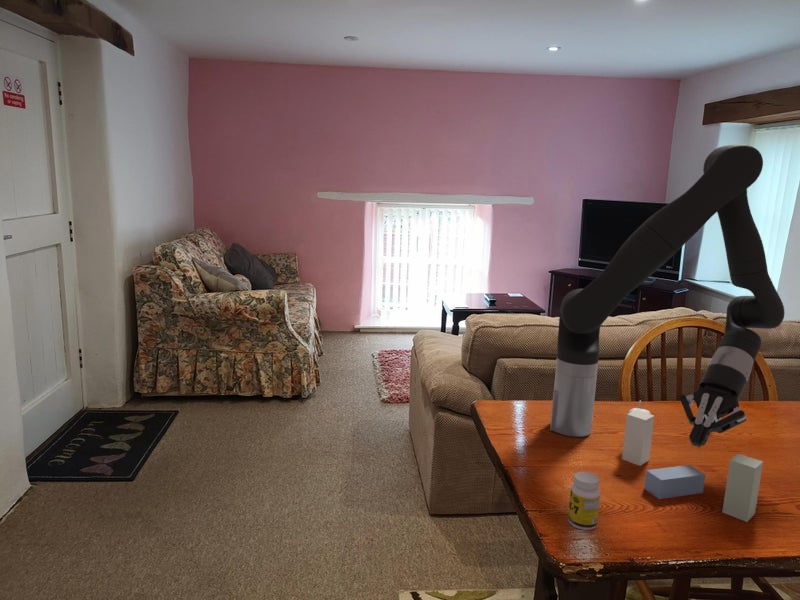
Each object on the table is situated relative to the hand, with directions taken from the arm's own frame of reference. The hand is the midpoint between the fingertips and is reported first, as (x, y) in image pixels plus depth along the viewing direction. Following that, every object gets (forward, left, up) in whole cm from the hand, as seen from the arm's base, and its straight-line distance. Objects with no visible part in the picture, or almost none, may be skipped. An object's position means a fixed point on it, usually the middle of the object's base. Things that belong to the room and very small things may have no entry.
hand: (695, 444), depth 116 cm
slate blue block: (0, -4, -5) cm, 7 cm away
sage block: (+6, -11, -7) cm, 15 cm away
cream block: (-10, +5, -7) cm, 13 cm away
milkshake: (-9, +11, -7) cm, 16 cm away
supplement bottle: (-20, -25, -7) cm, 33 cm away
